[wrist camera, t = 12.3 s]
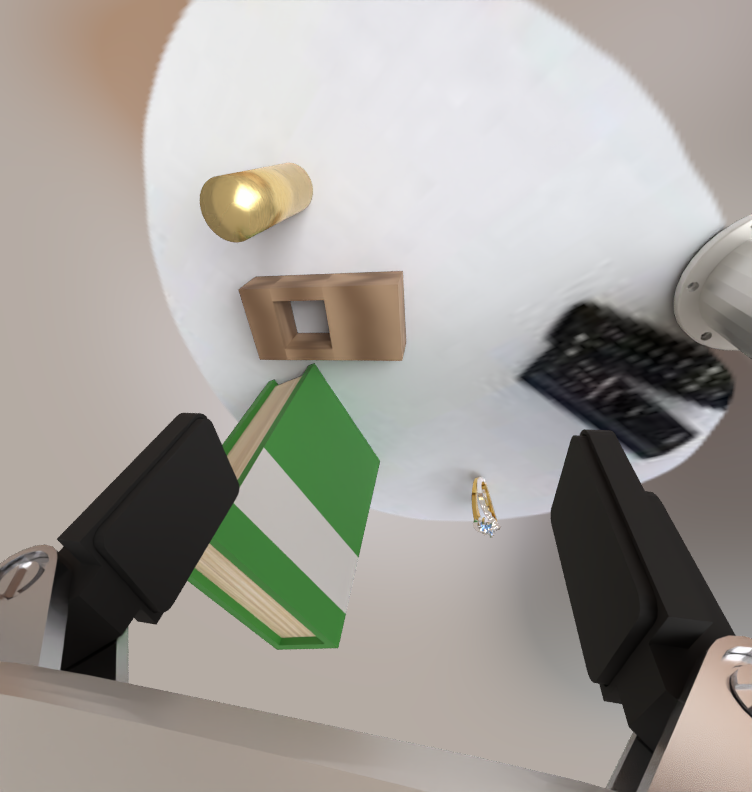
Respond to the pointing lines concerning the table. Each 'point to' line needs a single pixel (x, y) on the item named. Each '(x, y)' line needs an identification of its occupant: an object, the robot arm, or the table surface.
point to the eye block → (329, 316)
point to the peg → (254, 200)
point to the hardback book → (292, 516)
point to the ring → (483, 508)
